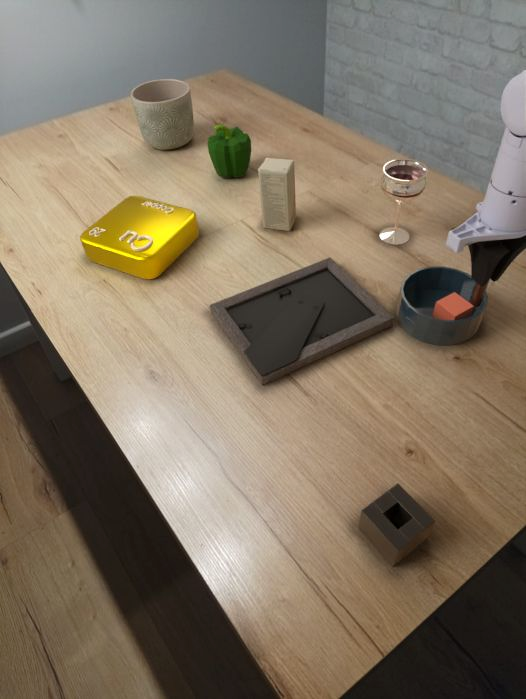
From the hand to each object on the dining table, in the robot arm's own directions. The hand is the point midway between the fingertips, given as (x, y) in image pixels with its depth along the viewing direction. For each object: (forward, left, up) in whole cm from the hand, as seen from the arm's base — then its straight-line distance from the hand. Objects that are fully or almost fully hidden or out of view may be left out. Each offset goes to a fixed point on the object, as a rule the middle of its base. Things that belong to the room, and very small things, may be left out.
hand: (484, 279), depth 67 cm
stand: (+4, +34, -8) cm, 35 cm away
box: (+34, -15, -8) cm, 38 cm away
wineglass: (+14, -17, -8) cm, 24 cm away
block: (+3, +2, -7) cm, 8 cm away
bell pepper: (+49, -29, -8) cm, 58 cm away
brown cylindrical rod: (0, 0, -4) cm, 4 cm away
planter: (+68, -38, -8) cm, 78 cm away
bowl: (+4, 0, -8) cm, 9 cm away
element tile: (+54, -2, -8) cm, 55 cm away
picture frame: (+23, +7, -8) cm, 25 cm away
